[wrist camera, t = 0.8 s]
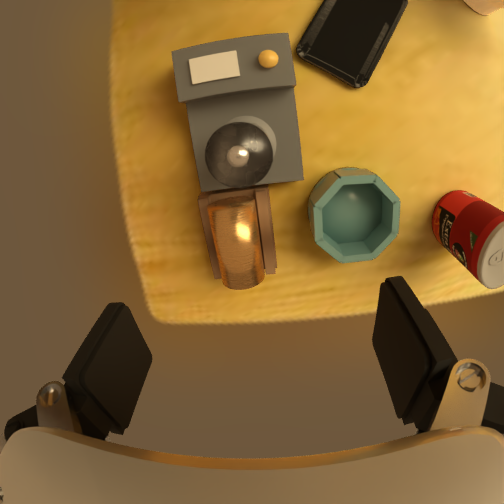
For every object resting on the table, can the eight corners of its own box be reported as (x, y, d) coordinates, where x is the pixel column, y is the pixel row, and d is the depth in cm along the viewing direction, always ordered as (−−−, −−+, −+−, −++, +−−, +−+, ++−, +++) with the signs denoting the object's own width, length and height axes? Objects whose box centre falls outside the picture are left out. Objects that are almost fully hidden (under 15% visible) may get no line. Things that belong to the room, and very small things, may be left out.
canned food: (423, 205, 28) (477, 245, 19) (468, 178, 26) (526, 207, 16) (436, 254, 31) (481, 302, 21) (478, 227, 29) (527, 266, 19)
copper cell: (211, 199, 28) (202, 213, 24) (255, 193, 27) (253, 207, 23) (226, 273, 32) (220, 296, 28) (265, 269, 31) (265, 292, 27)
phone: (293, 53, 22) (348, -38, 15) (291, 55, 23) (346, -34, 16) (363, 92, 23) (411, -1, 16) (360, 92, 24) (406, 1, 17)
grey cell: (218, 125, 24) (197, 128, 16) (267, 118, 24) (268, 117, 16) (225, 171, 26) (209, 194, 18) (273, 165, 26) (277, 186, 18)
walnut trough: (201, 192, 29) (195, 200, 27) (267, 183, 28) (268, 190, 26) (216, 266, 33) (213, 279, 31) (276, 260, 32) (277, 273, 30)
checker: (184, 60, 23) (169, 50, 18) (284, 45, 22) (288, 30, 17) (205, 187, 29) (194, 200, 24) (301, 176, 28) (308, 187, 23)
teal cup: (304, 169, 28) (310, 177, 24) (386, 165, 27) (401, 173, 23) (309, 250, 32) (315, 267, 28) (384, 242, 31) (396, 257, 27)
